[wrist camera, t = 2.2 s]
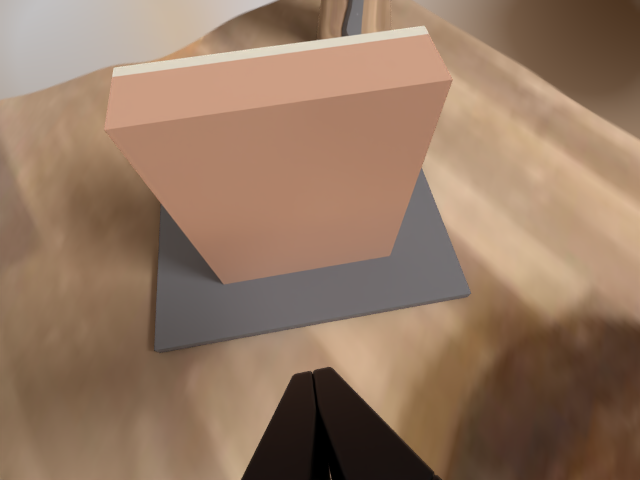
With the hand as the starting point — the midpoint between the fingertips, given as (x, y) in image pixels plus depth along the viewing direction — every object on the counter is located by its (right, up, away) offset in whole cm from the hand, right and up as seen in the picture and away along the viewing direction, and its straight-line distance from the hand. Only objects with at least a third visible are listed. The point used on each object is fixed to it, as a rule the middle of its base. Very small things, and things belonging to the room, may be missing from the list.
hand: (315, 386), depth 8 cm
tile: (-1, +3, +12) cm, 12 cm away
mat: (-1, +6, +14) cm, 15 cm away
